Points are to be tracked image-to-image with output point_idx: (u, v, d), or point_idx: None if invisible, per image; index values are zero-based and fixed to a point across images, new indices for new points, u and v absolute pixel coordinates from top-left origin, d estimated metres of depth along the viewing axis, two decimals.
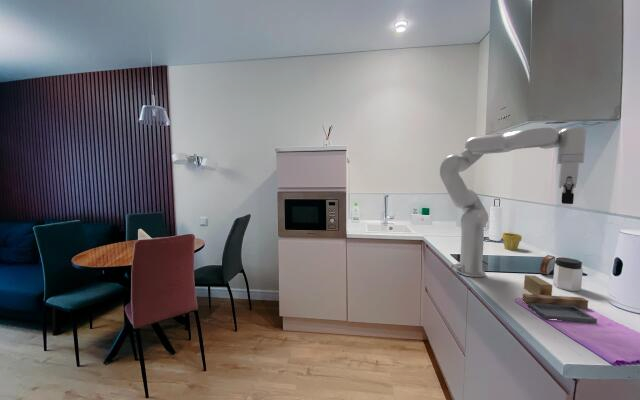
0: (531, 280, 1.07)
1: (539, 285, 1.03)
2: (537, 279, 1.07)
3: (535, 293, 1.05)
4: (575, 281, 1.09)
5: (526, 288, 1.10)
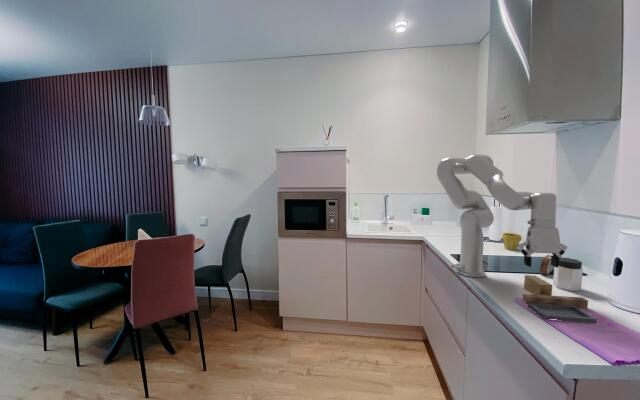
0: (531, 280, 1.07)
1: (539, 285, 1.03)
2: (537, 279, 1.07)
3: (535, 293, 1.05)
4: (575, 281, 1.09)
5: (526, 288, 1.10)
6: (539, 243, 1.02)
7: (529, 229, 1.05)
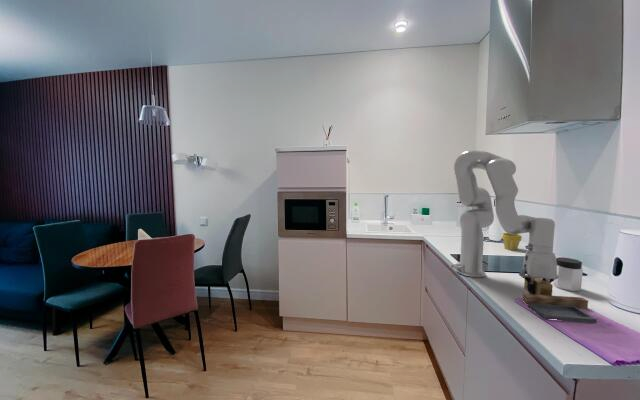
0: None
1: (539, 285, 1.03)
2: (537, 279, 1.07)
3: (535, 293, 1.05)
4: (575, 281, 1.09)
5: (526, 288, 1.10)
6: (536, 268, 1.04)
7: (527, 254, 1.06)
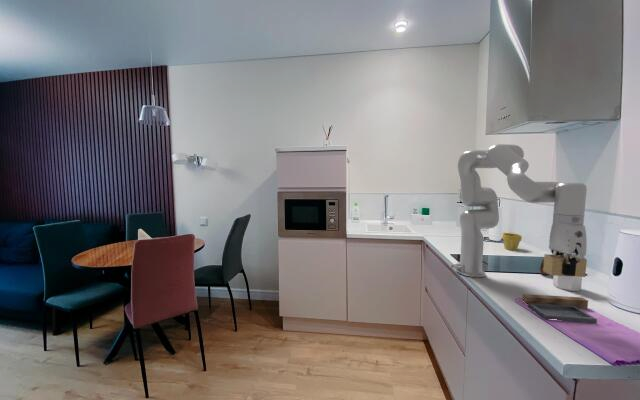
0: None
1: (584, 261, 0.86)
2: (564, 256, 0.89)
3: (576, 272, 0.87)
4: (575, 281, 1.09)
5: (557, 273, 0.88)
6: None
7: (577, 229, 0.84)
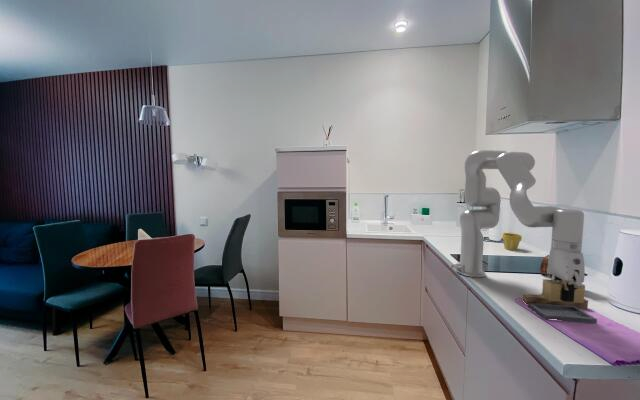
0: None
1: (582, 287, 0.87)
2: (563, 282, 0.89)
3: (574, 298, 0.88)
4: None
5: (555, 298, 0.88)
6: None
7: (575, 256, 0.84)
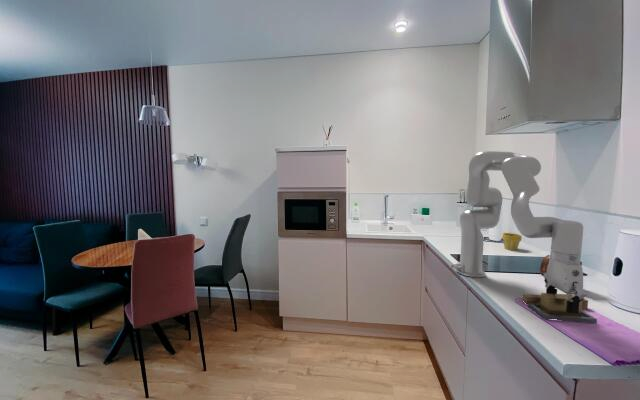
0: (563, 300, 0.88)
1: None
2: (560, 296, 0.90)
3: (572, 313, 0.88)
4: None
5: (553, 312, 0.89)
6: None
7: (574, 268, 0.85)
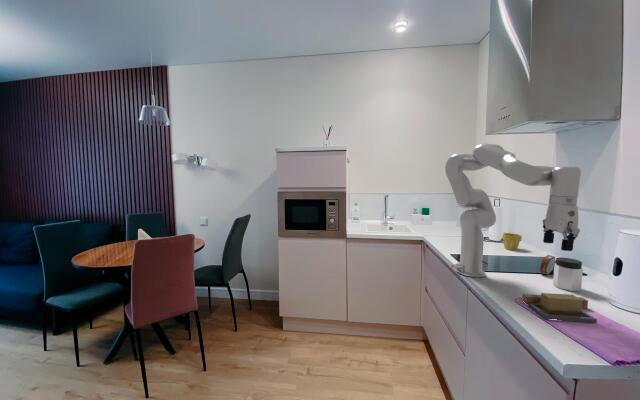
0: (563, 300, 0.88)
1: (579, 301, 0.88)
2: (560, 296, 0.90)
3: (572, 313, 0.88)
4: (575, 281, 1.09)
5: (553, 312, 0.89)
6: None
7: (570, 209, 0.91)
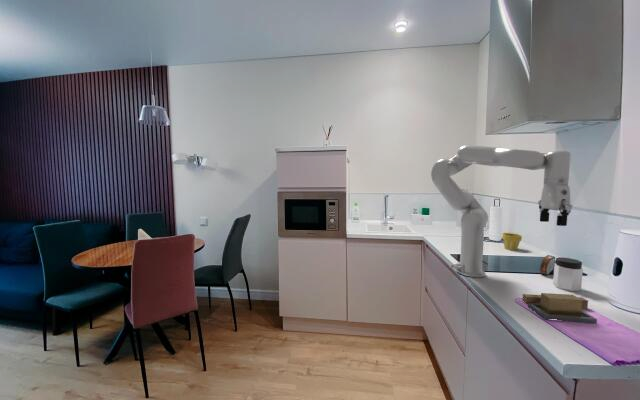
0: (563, 300, 0.88)
1: (579, 301, 0.88)
2: (560, 296, 0.90)
3: (572, 313, 0.88)
4: (575, 281, 1.09)
5: (553, 312, 0.89)
6: None
7: (563, 188, 1.03)
